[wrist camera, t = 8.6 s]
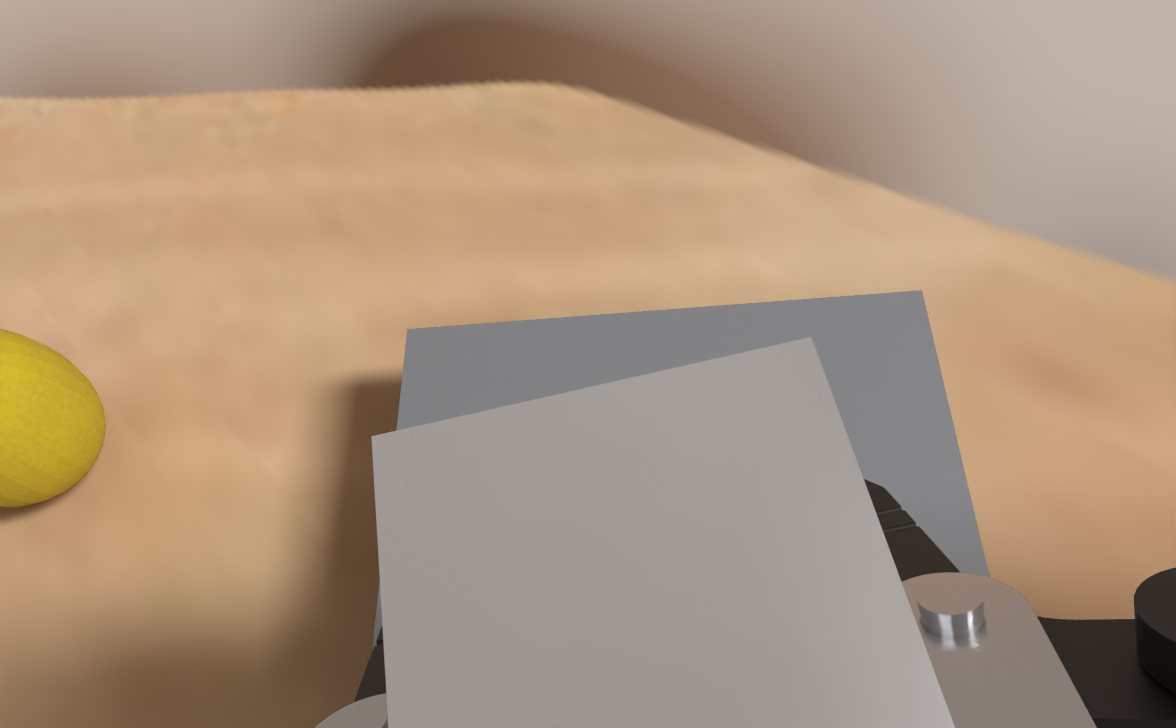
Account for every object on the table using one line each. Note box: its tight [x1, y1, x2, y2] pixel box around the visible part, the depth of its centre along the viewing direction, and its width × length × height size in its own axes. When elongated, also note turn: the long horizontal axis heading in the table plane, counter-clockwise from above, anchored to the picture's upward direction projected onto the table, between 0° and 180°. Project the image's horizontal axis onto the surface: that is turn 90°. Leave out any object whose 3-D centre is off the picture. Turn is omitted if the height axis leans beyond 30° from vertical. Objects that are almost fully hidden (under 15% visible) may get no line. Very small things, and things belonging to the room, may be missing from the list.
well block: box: [371, 290, 989, 654], centre depth 25 cm, size 16×16×4 cm
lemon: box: [0, 329, 106, 507], centre depth 28 cm, size 6×6×8 cm
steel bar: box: [371, 337, 955, 728], centre depth 10 cm, size 4×4×10 cm
